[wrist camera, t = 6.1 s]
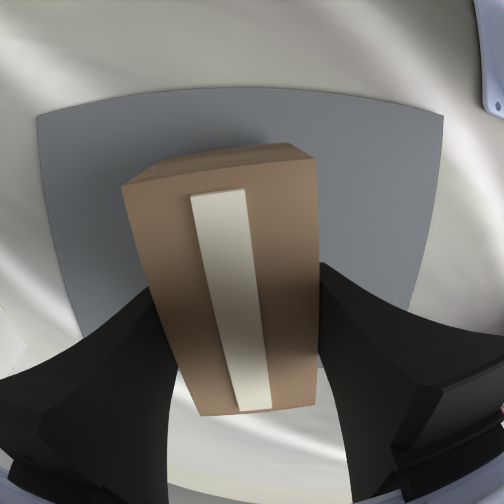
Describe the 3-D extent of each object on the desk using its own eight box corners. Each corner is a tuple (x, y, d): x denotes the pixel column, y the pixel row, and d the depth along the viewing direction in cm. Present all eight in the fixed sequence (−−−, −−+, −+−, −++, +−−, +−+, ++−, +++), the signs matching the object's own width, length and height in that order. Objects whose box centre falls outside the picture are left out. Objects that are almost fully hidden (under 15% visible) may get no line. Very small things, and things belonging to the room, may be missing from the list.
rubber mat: (437, 114, 11) (443, 115, 10) (386, 353, 17) (389, 359, 16) (43, 115, 10) (37, 116, 9) (96, 357, 16) (94, 363, 15)
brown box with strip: (298, 338, 14) (315, 408, 10) (206, 348, 14) (200, 420, 10) (286, 141, 10) (317, 159, 6) (160, 159, 10) (117, 188, 6)
